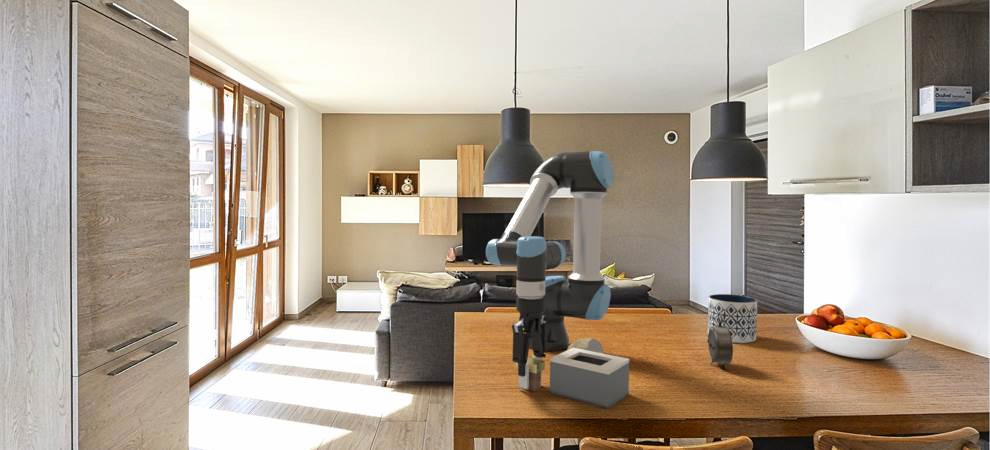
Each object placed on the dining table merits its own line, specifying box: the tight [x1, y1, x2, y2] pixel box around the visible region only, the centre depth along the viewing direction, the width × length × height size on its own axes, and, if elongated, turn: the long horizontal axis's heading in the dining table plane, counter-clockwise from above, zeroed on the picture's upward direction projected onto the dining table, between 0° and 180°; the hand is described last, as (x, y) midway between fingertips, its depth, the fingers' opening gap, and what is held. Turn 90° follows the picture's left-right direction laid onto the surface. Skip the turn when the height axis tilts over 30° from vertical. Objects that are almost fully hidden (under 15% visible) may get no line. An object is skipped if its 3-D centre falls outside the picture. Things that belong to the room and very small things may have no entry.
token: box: [515, 356, 546, 374], centre depth 134 cm, size 6×4×2 cm, turn 52°
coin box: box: [549, 348, 630, 410], centre depth 130 cm, size 16×12×9 cm
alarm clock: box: [706, 312, 734, 372], centre depth 153 cm, size 11×5×16 cm, turn 170°
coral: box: [566, 337, 605, 354], centre depth 149 cm, size 10×10×10 cm
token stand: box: [528, 372, 542, 392], centre depth 134 cm, size 5×2×5 cm, turn 52°
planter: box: [707, 293, 758, 344], centre depth 185 cm, size 16×16×14 cm
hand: (530, 384), depth 134 cm, fingers open, 5 cm apart
